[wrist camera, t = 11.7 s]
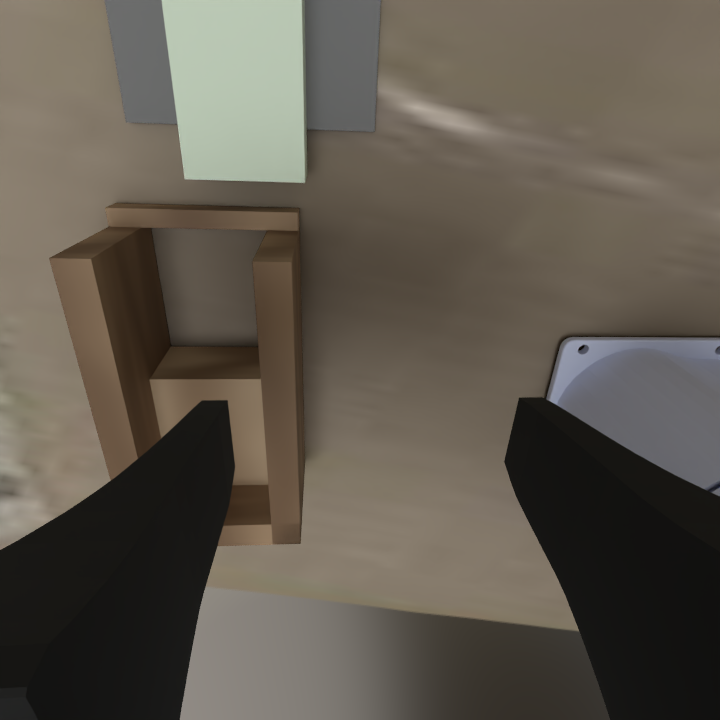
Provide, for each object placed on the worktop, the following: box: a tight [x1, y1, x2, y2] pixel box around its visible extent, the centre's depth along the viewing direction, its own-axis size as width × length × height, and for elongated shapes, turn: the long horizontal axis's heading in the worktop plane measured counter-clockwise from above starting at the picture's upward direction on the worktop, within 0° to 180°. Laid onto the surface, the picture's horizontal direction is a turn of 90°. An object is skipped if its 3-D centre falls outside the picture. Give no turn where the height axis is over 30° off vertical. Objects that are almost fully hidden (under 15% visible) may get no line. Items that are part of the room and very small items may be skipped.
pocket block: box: [49, 203, 305, 546], centre depth 19 cm, size 7×13×5 cm, turn 178°
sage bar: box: [162, 0, 307, 183], centre depth 14 cm, size 4×10×2 cm, turn 178°
